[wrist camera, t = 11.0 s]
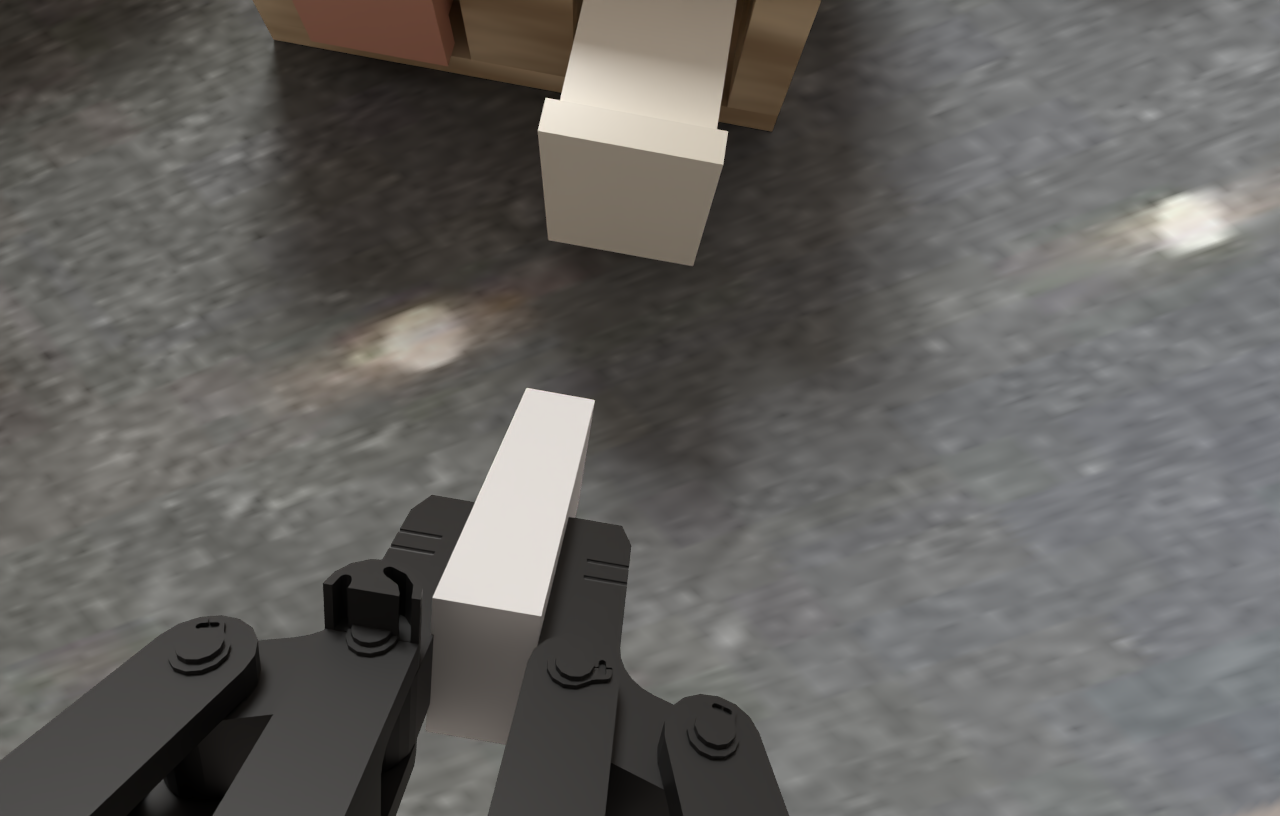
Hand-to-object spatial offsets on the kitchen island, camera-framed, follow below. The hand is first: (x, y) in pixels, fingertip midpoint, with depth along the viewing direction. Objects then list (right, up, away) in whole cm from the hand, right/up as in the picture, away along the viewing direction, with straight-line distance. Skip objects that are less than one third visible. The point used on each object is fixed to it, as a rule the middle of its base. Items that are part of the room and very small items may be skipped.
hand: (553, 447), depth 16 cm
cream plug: (+3, +15, +14) cm, 21 cm away
